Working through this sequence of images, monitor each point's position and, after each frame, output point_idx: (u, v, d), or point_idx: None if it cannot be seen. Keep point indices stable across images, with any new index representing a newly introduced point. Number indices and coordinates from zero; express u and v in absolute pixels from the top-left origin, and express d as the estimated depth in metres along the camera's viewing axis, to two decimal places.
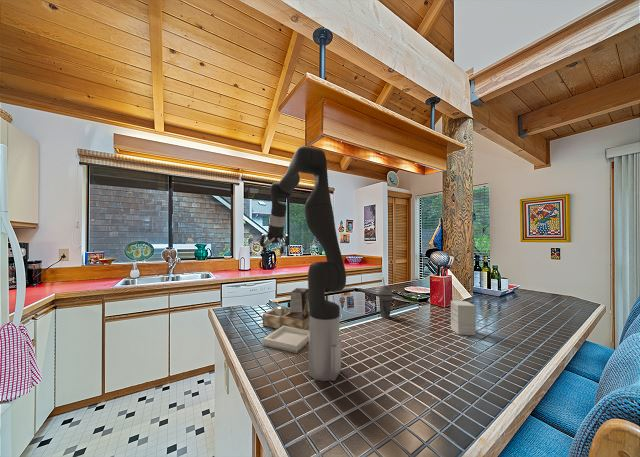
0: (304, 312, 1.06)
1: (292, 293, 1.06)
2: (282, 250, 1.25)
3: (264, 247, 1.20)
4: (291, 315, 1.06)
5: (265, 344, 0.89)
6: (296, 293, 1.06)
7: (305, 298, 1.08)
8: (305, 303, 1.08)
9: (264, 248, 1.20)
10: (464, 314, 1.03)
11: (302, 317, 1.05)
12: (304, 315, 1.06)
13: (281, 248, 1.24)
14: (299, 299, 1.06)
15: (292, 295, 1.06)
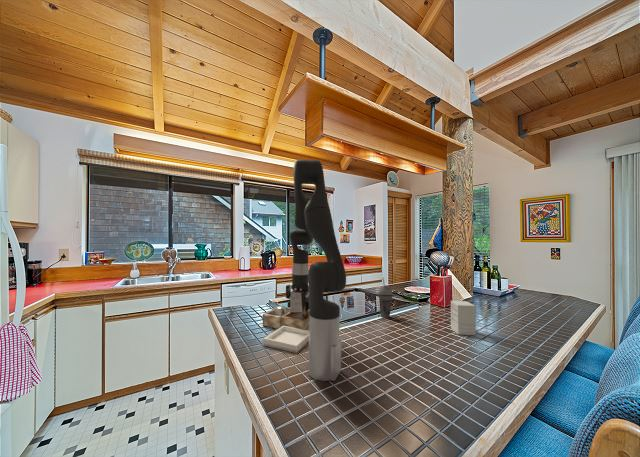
0: (304, 312, 1.06)
1: (292, 293, 1.06)
2: (306, 306, 1.07)
3: (290, 300, 1.11)
4: (291, 315, 1.06)
5: (265, 344, 0.89)
6: (296, 293, 1.06)
7: (305, 298, 1.08)
8: (305, 303, 1.08)
9: (290, 301, 1.11)
10: (464, 314, 1.03)
11: (302, 317, 1.05)
12: (304, 315, 1.06)
13: None
14: (298, 298, 1.06)
15: (292, 294, 1.06)
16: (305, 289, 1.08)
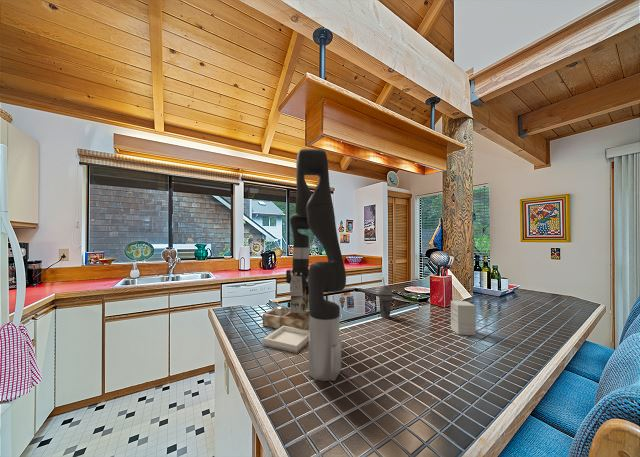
0: (304, 296, 1.06)
1: (292, 277, 1.06)
2: (307, 290, 1.07)
3: None
4: (292, 299, 1.06)
5: (265, 344, 0.89)
6: (296, 277, 1.06)
7: None
8: (305, 287, 1.08)
9: None
10: (464, 314, 1.03)
11: (303, 300, 1.05)
12: (305, 299, 1.06)
13: (306, 287, 1.08)
14: (299, 282, 1.06)
15: (293, 278, 1.06)
16: (305, 273, 1.08)
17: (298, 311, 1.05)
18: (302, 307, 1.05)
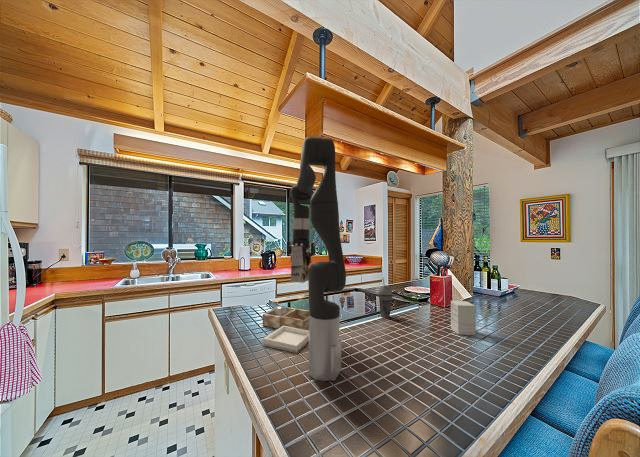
0: (305, 266, 1.07)
1: (293, 247, 1.07)
2: (307, 260, 1.08)
3: (291, 256, 1.12)
4: (292, 269, 1.06)
5: (265, 344, 0.89)
6: (297, 247, 1.07)
7: (306, 253, 1.08)
8: (306, 257, 1.08)
9: None
10: (464, 314, 1.03)
11: (303, 270, 1.06)
12: (305, 269, 1.07)
13: None
14: (299, 252, 1.06)
15: (293, 248, 1.07)
16: (306, 244, 1.08)
17: (298, 281, 1.06)
18: (302, 277, 1.05)
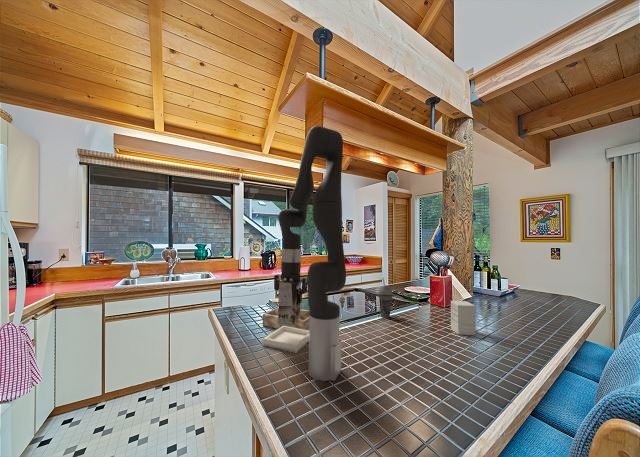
0: (295, 306, 0.90)
1: (281, 283, 0.90)
2: (298, 299, 0.91)
3: None
4: (279, 309, 0.90)
5: (265, 344, 0.89)
6: (285, 283, 0.90)
7: None
8: (296, 295, 0.92)
9: None
10: (464, 314, 1.03)
11: (292, 312, 0.89)
12: (295, 309, 0.90)
13: None
14: (288, 290, 0.90)
15: (281, 285, 0.90)
16: (296, 279, 0.92)
17: (287, 324, 0.89)
18: (292, 319, 0.89)
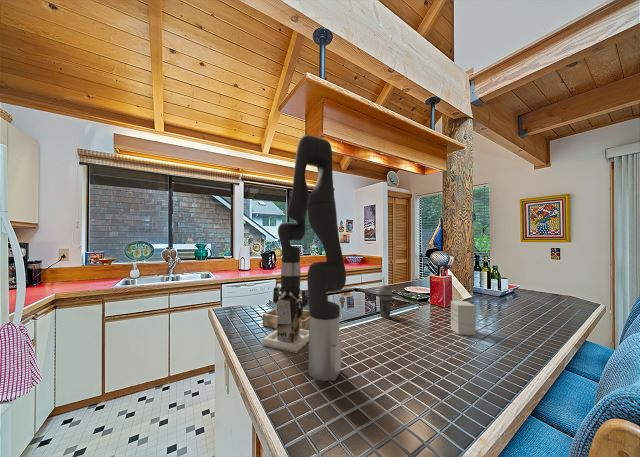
0: (294, 324, 0.90)
1: (279, 301, 0.90)
2: (298, 312, 0.91)
3: None
4: (278, 327, 0.90)
5: (265, 344, 0.89)
6: (284, 301, 0.90)
7: (295, 307, 0.92)
8: (295, 313, 0.91)
9: None
10: (464, 314, 1.03)
11: (291, 330, 0.89)
12: (294, 327, 0.90)
13: (297, 309, 0.91)
14: (287, 308, 0.89)
15: (280, 303, 0.90)
16: (296, 292, 0.92)
17: None
18: (290, 337, 0.89)
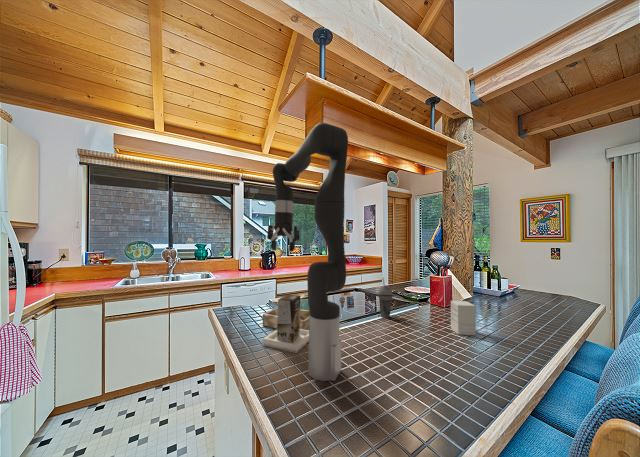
0: (294, 324, 0.90)
1: (279, 301, 0.90)
2: (290, 246, 0.98)
3: (272, 241, 1.02)
4: (278, 327, 0.90)
5: (265, 344, 0.89)
6: (284, 301, 0.90)
7: (295, 307, 0.92)
8: (295, 313, 0.91)
9: None
10: (464, 314, 1.03)
11: (291, 330, 0.89)
12: (294, 327, 0.90)
13: (290, 243, 0.99)
14: (287, 308, 0.89)
15: (280, 303, 0.90)
16: (288, 228, 0.99)
17: None
18: (290, 337, 0.89)
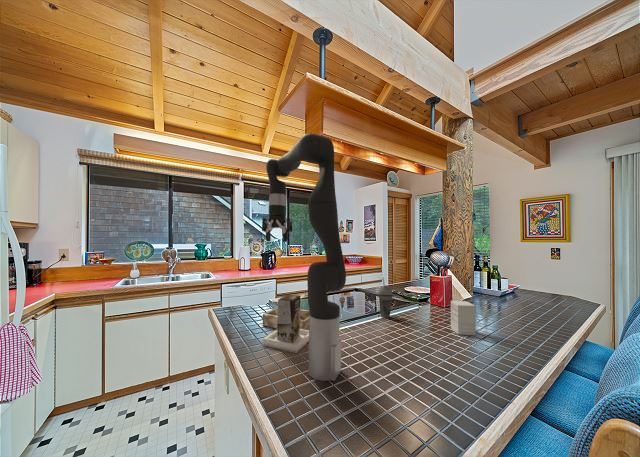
0: (294, 324, 0.90)
1: (279, 301, 0.90)
2: (284, 237, 1.04)
3: (266, 233, 1.08)
4: (278, 327, 0.90)
5: (265, 344, 0.89)
6: (284, 301, 0.90)
7: (295, 307, 0.92)
8: (295, 313, 0.91)
9: (266, 234, 1.08)
10: (464, 314, 1.03)
11: (291, 330, 0.89)
12: (294, 327, 0.90)
13: (283, 234, 1.04)
14: (287, 308, 0.89)
15: (280, 303, 0.90)
16: (282, 220, 1.05)
17: None
18: (290, 337, 0.89)
